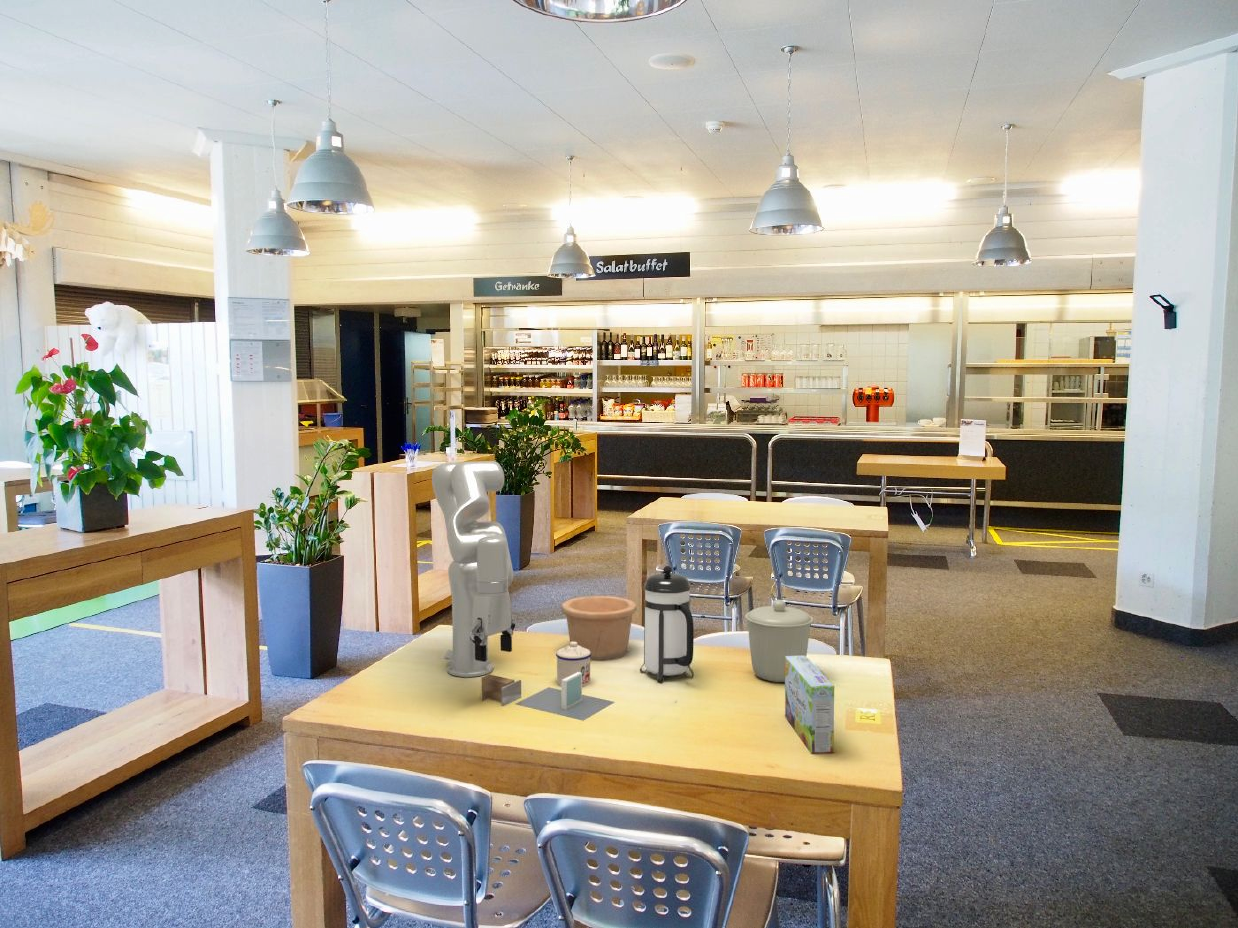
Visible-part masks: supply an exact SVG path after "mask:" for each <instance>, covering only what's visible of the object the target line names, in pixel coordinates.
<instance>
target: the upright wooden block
mask: <svg viewBox="0 0 1238 928" xmlns="http://www.w3.org/2000/svg"><path fill="white" fill-rule="evenodd" d="M521 698H522V679H518V680H515V679H512V678H507V677H503V676H499V675H495V674H490V673H488V674H486V675H485V676H484V675H483V676H482V677H481V702H483V701H486V700H493V701H497V702H501V706H502V707H505V706H507V705H510V703H512V702H514V701H517V700H519V699H521Z"/></svg>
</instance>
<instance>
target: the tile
mask: <svg viewBox="0 0 1238 928" xmlns="http://www.w3.org/2000/svg"><path fill="white" fill-rule="evenodd" d="M560 687H561V688H560V690H561V692H562V709H567V708H569V707H571V706H573V705H575V704H577V703H578V702H580V701H582V695H583V687H582V673H581V672H577V673H575V674H573V675H571V676H569V677H567V678H565V679H563V680H561V686H560Z"/></svg>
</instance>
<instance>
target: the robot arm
mask: <svg viewBox="0 0 1238 928" xmlns="http://www.w3.org/2000/svg"><path fill="white" fill-rule="evenodd" d="M504 483H505V473H504V469H503V467H502V466H501V465H500V463H499V462H497V461H493V460H487V461H486V460H485V461H483V460H482V461H480V460H479V461H464V462H463V461H462V462H461V461H457V462H456V461H454V462H446V463H442V464H439V465H437V466H436V467H435V468H433V471H432V473H431V484H432V485H431V486H432V490H433V493H434V497H435V499H436V502H437V503H438V505H439V507H440V509H441V511H442V513H443V516H444V523H445V529H446V539H447V543H448V548H449V553H450V556H451V559H452V561H451V562H450V564H449V566H448V570H447V571H448V573H447V575H448V580H449V581H448V583H449V588H450V595H451V615H452V616H451V618H452V650H451V649H448V650H447V651H446V653H445V654H444V655H443V659H445V660H449V664H448V666H447V668H446V669H447V670H446V671H447V673H448V674H449V675H451V676H454V677H462V678H474V677H480V676H484V675H485V676H486V675H489V674H490V673H492V672H493V671H494V668H495V667H494V663H493V662H491V661H489V643H488V642H489V638H488V637H490V636H493V635H496V634H499V633H501V634H500V637H499V639H500V640H499V641H500V651H502V652H505V653H506V652H507V653H511V652H512V651H513V640H512V639H513V635H514V630H515V628H516V623H517V622H516V621H517V618H518V616H517V615H516V614H514V613H513V612H512V606H511V597H510V593H509V587H510V586H511V585H512V583H513V581H514V569H513V564H512V563H513V562H512V558H511V554H510V549H509V543H508V539H507V534H506V530H505V528H504V526H503V525H502V524H501V523H499V522H498V521H492V520H491V521H490V520H488V521H487V520H486V521H477V520H479V519H481V518H483V517H484V516H485V515H486V514H487V513H488V512H489V510H490V508H491V507H490V506H491V502H490V499H489V496H488V493H489V492H500V491H501V490H502V489H503V487H504Z"/></svg>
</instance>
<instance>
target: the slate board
mask: <svg viewBox="0 0 1238 928" xmlns="http://www.w3.org/2000/svg"><path fill="white" fill-rule="evenodd" d="M614 703H615V701H613V700H607V699H603V698H600V697H595V696H592V695H591V696H589V695H585V694H582V701H580V702H578V703H577V704H575V705H573V706H571V707H569V708H567V709H562V692H561V689H560V688H559V689H558V688H554V687H546V688H544V689H542V690H540V691H538V692H536V693H534V694H532V695H530V696H527V697H526V698H524V699H522V700H520V701H518V702H516V703H515V705H517V706H521V707H525V708H530V709H533V710H538V711H542V712H546V713H550V714H554V715H559V716H563V717H566V718H570V719H575V720H578V721H586V720H587V719H589V718H591V717H592V716H593V715H596V714H597V713H599V712H600V711H603V710H604V709H606V708H608V707H609V706H610V705H612V704H614Z"/></svg>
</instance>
